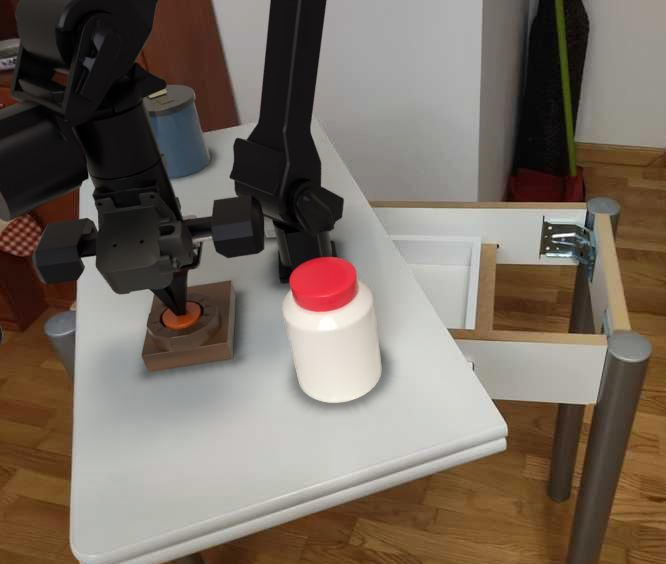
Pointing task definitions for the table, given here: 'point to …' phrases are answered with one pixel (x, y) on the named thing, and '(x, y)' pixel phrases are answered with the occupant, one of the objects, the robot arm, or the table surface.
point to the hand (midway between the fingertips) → (181, 313)
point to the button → (182, 317)
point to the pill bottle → (332, 330)
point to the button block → (193, 330)
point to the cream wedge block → (158, 93)
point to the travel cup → (178, 130)
